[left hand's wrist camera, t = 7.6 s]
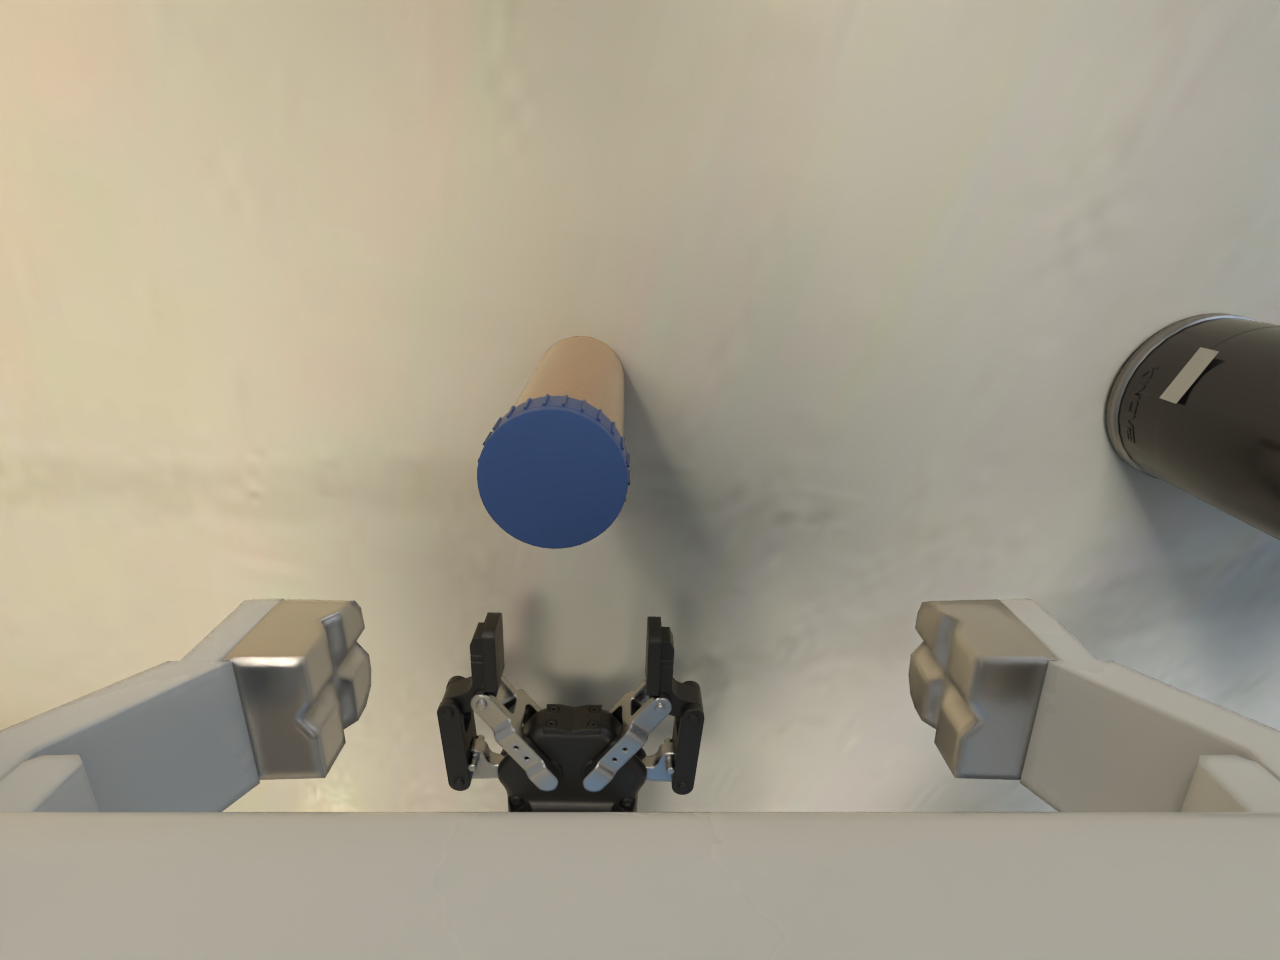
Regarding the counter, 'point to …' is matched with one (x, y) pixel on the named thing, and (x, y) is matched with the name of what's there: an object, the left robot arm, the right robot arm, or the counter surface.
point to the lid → (554, 472)
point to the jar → (581, 376)
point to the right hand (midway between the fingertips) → (572, 622)
